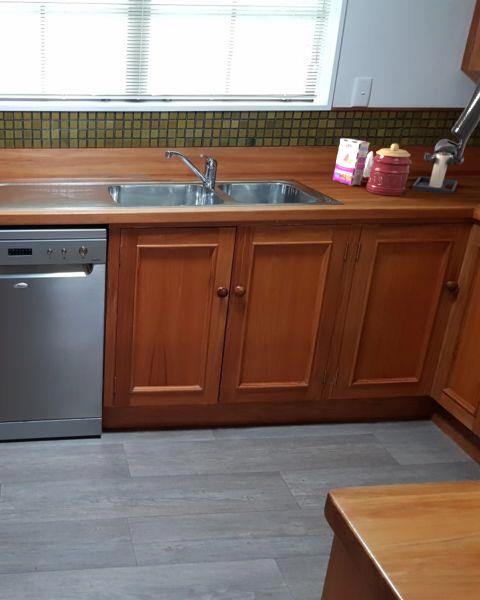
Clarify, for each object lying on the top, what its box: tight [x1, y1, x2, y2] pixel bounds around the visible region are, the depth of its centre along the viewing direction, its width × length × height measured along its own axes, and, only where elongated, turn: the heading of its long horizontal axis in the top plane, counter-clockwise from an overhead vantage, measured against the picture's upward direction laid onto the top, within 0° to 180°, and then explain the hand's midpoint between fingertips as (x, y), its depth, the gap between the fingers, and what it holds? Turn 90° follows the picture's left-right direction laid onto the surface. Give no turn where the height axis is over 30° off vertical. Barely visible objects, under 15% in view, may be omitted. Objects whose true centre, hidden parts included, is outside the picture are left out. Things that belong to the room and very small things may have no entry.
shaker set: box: [362, 151, 374, 180], centre depth 244 cm, size 12×4×11 cm, turn 108°
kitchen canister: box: [365, 143, 412, 197], centre depth 221 cm, size 13×13×18 cm
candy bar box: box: [332, 138, 371, 187], centre depth 235 cm, size 11×5×16 cm, turn 17°
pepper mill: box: [429, 152, 450, 188], centre depth 231 cm, size 4×4×13 cm
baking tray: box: [411, 176, 459, 195], centre depth 234 cm, size 14×22×2 cm, turn 146°
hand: (441, 161), depth 228 cm, fingers closed on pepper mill, 4 cm apart
